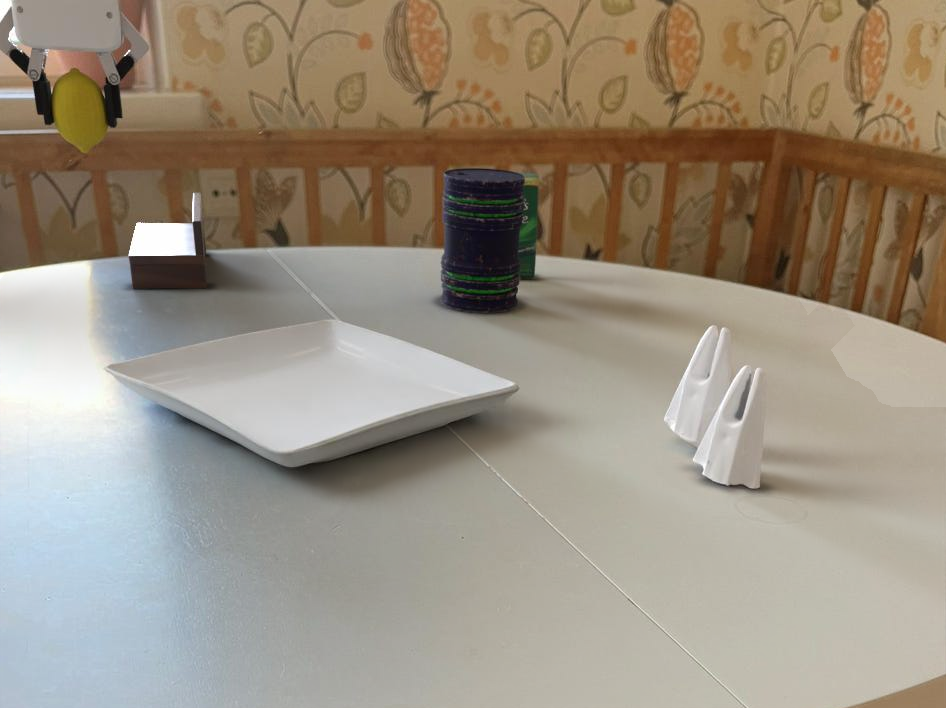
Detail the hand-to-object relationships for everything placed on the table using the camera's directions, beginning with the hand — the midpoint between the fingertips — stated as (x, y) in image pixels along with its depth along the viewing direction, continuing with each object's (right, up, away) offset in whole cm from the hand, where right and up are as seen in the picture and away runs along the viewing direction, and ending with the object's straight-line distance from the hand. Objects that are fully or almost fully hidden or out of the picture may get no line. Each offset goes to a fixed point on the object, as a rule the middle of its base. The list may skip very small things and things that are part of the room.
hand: (81, 122), depth 109 cm
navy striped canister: (+42, -12, +23) cm, 49 cm away
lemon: (0, -3, +2) cm, 3 cm away
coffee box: (+45, -4, +35) cm, 57 cm away
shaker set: (+61, -39, -19) cm, 75 cm away
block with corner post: (+1, -5, +30) cm, 31 cm away
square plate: (+26, -33, -13) cm, 44 cm away
